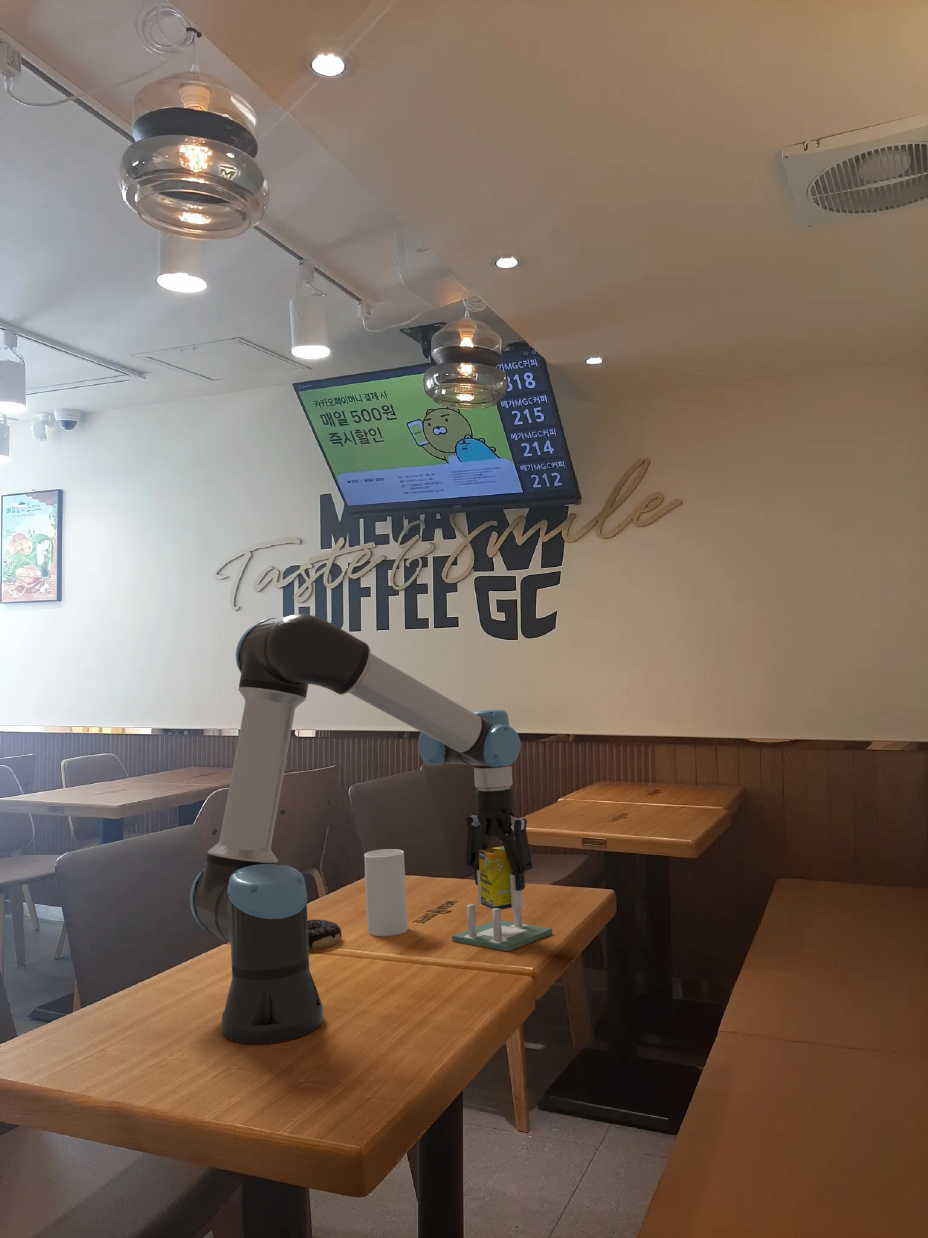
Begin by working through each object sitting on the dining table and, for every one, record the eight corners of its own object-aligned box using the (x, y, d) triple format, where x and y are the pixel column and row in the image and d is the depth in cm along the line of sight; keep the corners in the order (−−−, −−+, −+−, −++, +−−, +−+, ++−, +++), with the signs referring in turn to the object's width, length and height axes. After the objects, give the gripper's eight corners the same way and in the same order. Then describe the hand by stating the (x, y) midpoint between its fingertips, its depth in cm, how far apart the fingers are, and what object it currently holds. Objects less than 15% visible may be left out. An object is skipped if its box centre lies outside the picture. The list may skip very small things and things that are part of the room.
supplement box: (480, 905, 191) (477, 849, 191) (507, 900, 193) (504, 845, 194) (494, 911, 185) (490, 854, 186) (521, 906, 188) (518, 850, 189)
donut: (274, 951, 189) (273, 931, 189) (303, 935, 200) (302, 916, 200) (325, 954, 185) (324, 933, 185) (351, 937, 196) (350, 917, 196)
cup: (410, 925, 202) (406, 848, 203) (404, 936, 194) (400, 856, 195) (372, 926, 203) (368, 850, 204) (364, 937, 195) (360, 857, 196)
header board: (508, 951, 179) (506, 913, 179) (452, 941, 188) (450, 905, 189) (552, 933, 190) (550, 898, 190) (497, 924, 199) (495, 890, 199)
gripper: (547, 787, 187) (554, 906, 185) (467, 784, 200) (473, 895, 199) (523, 792, 181) (530, 915, 180) (443, 788, 195) (449, 902, 193)
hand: (500, 904), depth 189 cm, fingers closed on supplement box, 8 cm apart
